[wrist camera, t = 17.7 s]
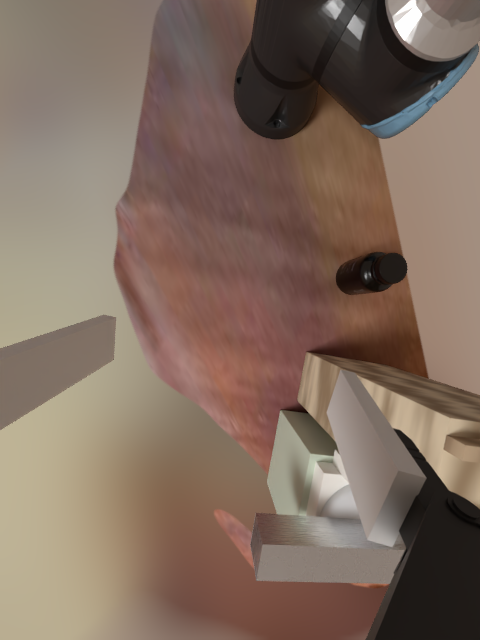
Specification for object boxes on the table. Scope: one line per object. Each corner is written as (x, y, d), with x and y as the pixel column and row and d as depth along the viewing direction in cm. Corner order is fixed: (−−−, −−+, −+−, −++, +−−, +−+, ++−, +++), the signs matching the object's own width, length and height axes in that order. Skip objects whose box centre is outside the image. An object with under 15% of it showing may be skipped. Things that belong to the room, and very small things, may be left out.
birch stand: (297, 400, 50) (442, 555, 19) (306, 351, 50) (469, 426, 18) (378, 411, 52) (628, 567, 21) (387, 365, 52) (655, 452, 21)
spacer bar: (250, 544, 30) (256, 580, 26) (255, 512, 30) (262, 544, 26) (464, 553, 34) (498, 586, 30) (469, 525, 34) (504, 554, 30)
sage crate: (266, 482, 50) (290, 556, 35) (280, 409, 50) (310, 453, 35) (335, 488, 52) (386, 561, 37) (349, 419, 51) (405, 464, 37)
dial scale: (298, 549, 35) (333, 644, 25) (318, 447, 35) (361, 503, 25) (381, 554, 37) (444, 645, 27) (401, 457, 36) (472, 513, 26)
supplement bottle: (372, 276, 50) (422, 267, 39) (351, 301, 50) (395, 300, 38) (349, 253, 50) (392, 236, 38) (327, 279, 49) (364, 270, 37)
